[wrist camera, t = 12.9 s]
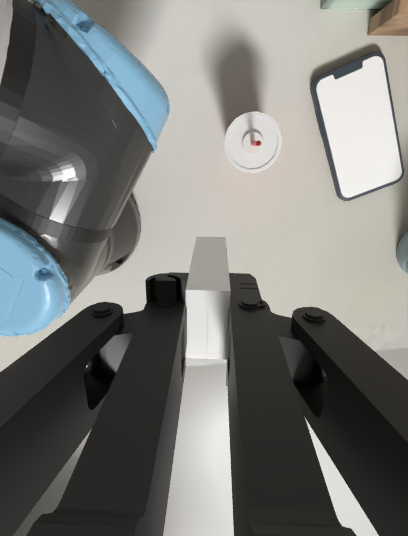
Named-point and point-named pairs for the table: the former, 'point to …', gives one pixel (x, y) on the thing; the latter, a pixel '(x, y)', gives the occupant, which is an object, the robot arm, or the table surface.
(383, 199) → the table surface
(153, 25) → the table surface
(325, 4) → the bevelled sage-green slab
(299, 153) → the table surface
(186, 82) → the table surface
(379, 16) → the walnut shelf
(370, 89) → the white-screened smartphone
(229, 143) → the beverage cup
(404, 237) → the teal tapered cup
